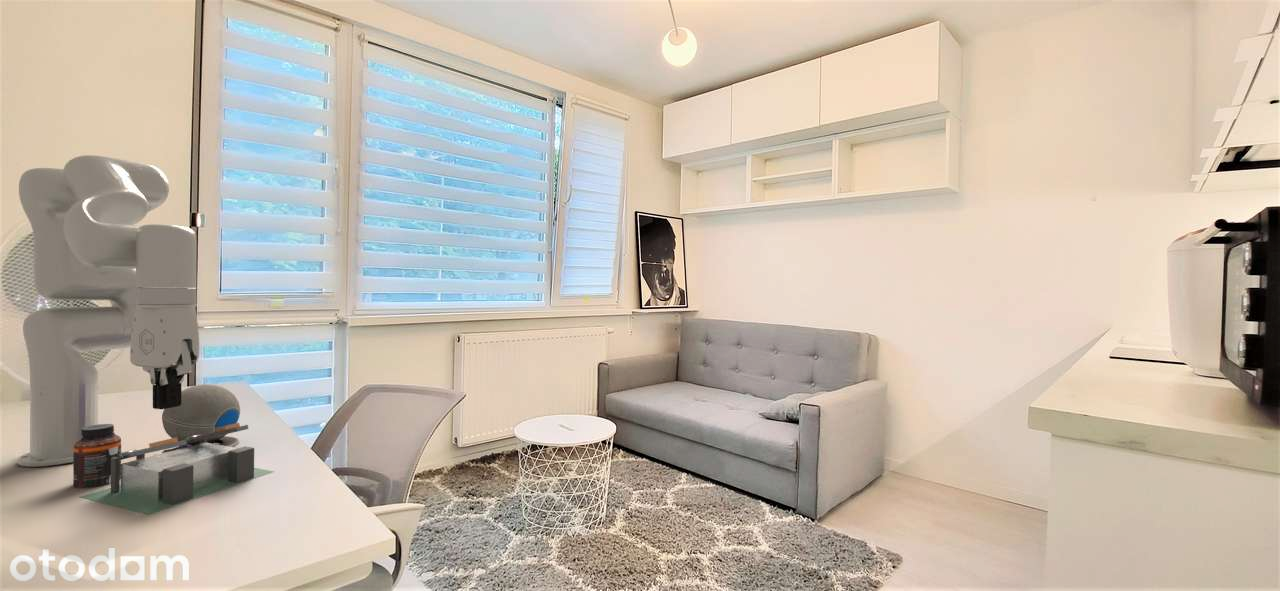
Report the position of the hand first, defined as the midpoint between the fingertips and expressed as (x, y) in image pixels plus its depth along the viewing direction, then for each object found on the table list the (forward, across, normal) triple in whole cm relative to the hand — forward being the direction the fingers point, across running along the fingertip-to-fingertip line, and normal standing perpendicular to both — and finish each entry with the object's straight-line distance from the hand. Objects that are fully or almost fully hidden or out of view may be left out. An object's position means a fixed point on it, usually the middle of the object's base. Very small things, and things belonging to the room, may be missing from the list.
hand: (167, 407), depth 86 cm
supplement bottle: (+16, -19, 0) cm, 25 cm away
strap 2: (+8, -4, +10) cm, 14 cm away
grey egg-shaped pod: (+16, -24, +20) cm, 35 cm away
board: (+17, -5, +5) cm, 18 cm away
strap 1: (+8, -4, 0) cm, 9 cm away
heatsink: (+15, -5, +5) cm, 17 cm away
